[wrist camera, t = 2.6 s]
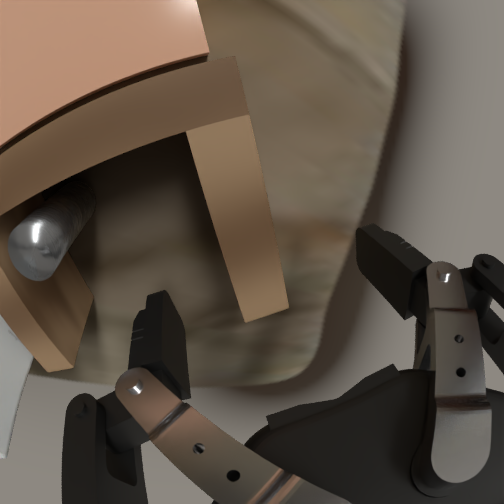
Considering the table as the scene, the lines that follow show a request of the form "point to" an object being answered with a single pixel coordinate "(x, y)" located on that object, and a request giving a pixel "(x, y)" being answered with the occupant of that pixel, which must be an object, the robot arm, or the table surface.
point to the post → (50, 231)
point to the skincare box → (11, 381)
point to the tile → (85, 50)
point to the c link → (120, 141)
